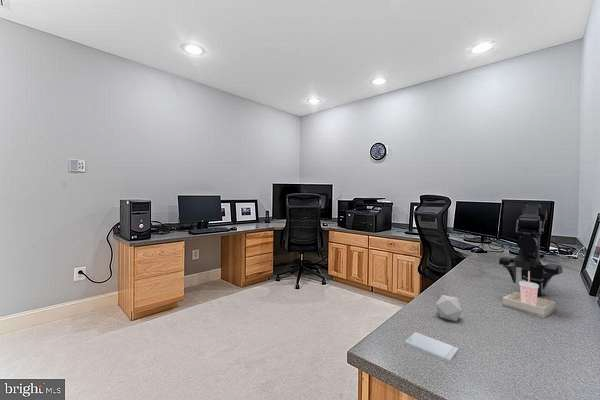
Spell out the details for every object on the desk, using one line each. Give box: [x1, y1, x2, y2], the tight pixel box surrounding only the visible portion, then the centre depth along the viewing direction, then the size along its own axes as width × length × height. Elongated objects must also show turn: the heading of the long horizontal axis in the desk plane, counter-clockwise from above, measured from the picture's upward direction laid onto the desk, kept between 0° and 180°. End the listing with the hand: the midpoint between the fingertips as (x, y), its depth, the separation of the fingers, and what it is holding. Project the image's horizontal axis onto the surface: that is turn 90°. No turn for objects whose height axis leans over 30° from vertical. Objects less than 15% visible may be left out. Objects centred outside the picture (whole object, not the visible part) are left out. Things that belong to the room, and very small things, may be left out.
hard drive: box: [404, 331, 460, 364], centre depth 77 cm, size 2×8×12 cm
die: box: [435, 294, 463, 322], centre depth 96 cm, size 8×9×10 cm
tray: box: [502, 291, 556, 319], centre depth 106 cm, size 13×13×4 cm
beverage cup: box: [518, 271, 539, 306], centre depth 106 cm, size 6×6×14 cm
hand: (528, 286), depth 106 cm, fingers open, 9 cm apart
